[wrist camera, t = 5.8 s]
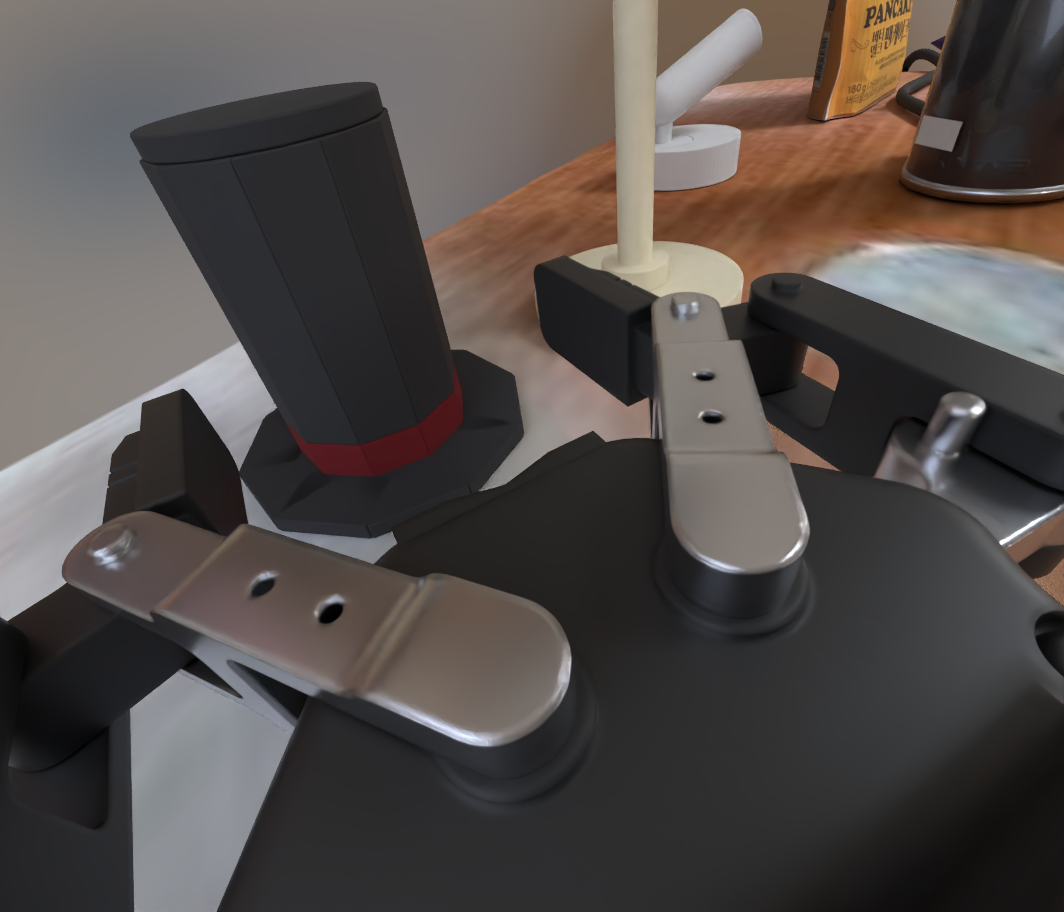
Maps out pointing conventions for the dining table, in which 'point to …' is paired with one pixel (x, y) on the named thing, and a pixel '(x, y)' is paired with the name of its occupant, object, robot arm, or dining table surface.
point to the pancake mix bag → (859, 56)
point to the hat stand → (649, 179)
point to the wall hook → (700, 147)
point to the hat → (331, 308)
